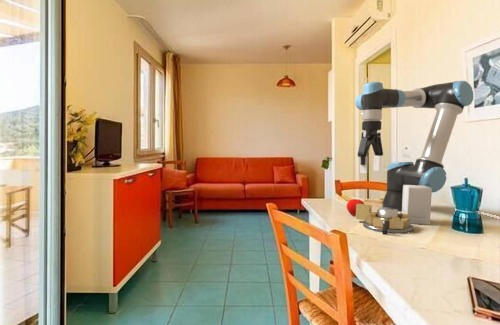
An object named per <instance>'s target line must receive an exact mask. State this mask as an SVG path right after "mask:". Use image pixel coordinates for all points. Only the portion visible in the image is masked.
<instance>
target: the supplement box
mask: <svg viewBox="0 0 500 325" xmlns="http://www.w3.org/2000/svg"><path fill="white" fill-rule="evenodd" d="M432 193H433V192H432V188H429V187H427V186H424V185H403V198H402V211H401V213H406V214H408V217H410V225H411V224H412V225H414V224H415V225H429V226H430V225H431V215H432V214H431V210H432Z"/></svg>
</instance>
